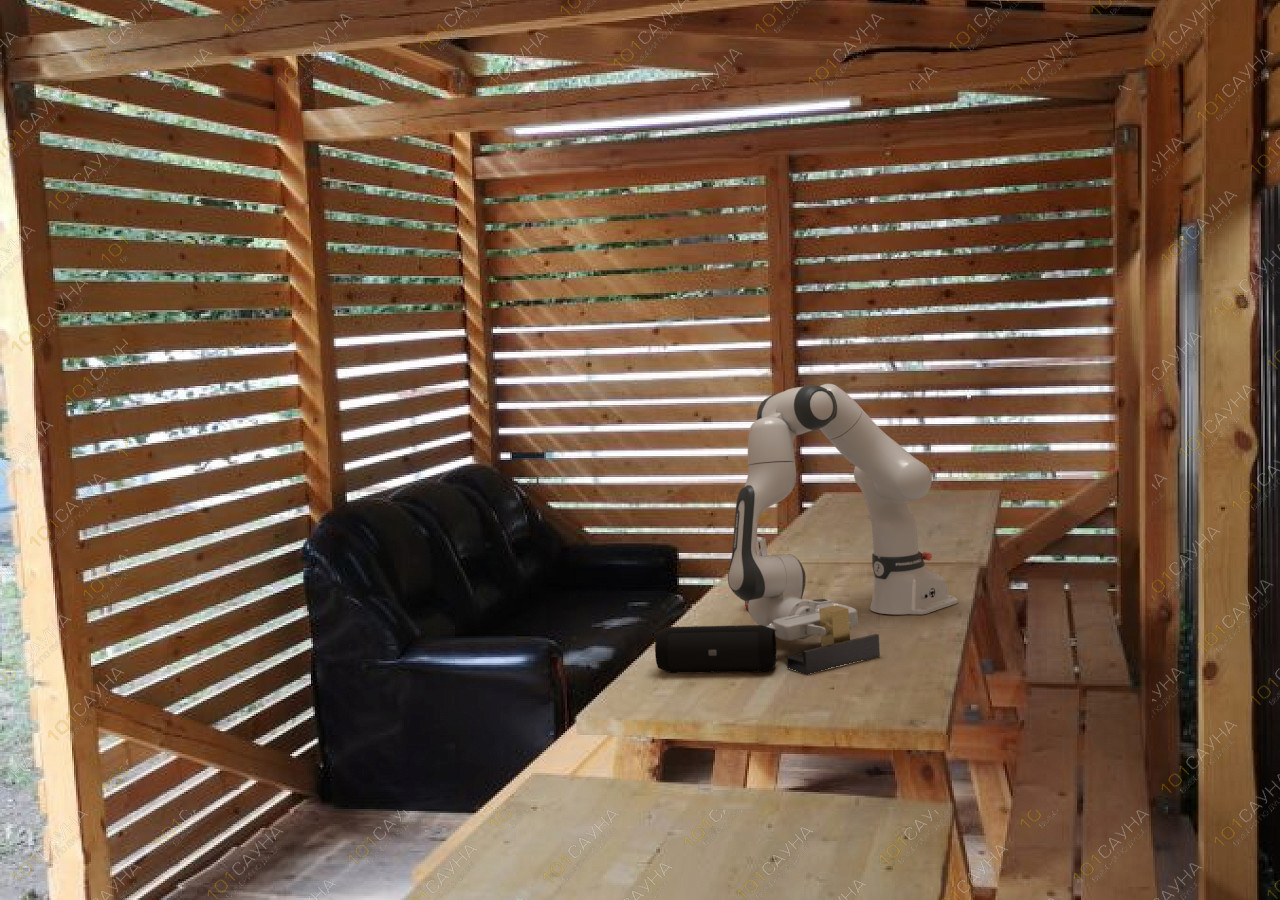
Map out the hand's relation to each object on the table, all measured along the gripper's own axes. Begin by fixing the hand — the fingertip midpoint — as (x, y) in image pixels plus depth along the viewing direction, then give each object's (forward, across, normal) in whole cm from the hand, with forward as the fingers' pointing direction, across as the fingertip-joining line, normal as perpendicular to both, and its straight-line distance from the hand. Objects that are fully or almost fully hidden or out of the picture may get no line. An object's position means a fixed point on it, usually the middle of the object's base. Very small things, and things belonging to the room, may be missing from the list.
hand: (837, 629), depth 295 cm
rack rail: (+1, -2, +7) cm, 7 cm away
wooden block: (-1, 0, +6) cm, 6 cm away
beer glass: (-68, +26, +7) cm, 74 cm away
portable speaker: (-13, -24, +7) cm, 28 cm away
